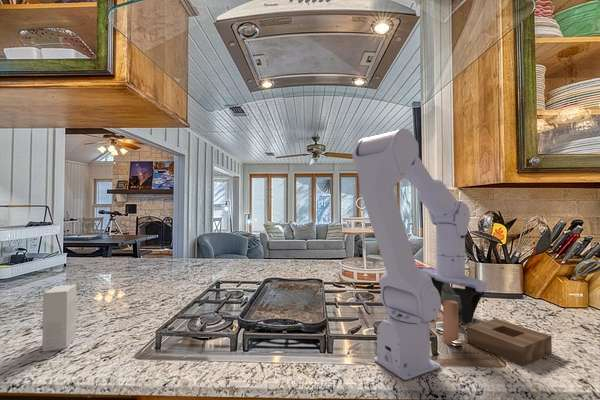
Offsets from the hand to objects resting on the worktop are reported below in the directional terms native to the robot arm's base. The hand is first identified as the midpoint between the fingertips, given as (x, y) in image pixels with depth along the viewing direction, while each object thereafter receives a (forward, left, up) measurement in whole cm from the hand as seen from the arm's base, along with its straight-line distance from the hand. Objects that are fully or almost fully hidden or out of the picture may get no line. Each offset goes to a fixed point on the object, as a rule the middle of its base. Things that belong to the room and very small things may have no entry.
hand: (450, 316), depth 66 cm
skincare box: (-76, +38, -6) cm, 85 cm away
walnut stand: (+9, -7, -6) cm, 13 cm away
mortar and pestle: (+16, +10, -6) cm, 20 cm away
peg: (0, 0, -6) cm, 6 cm away
